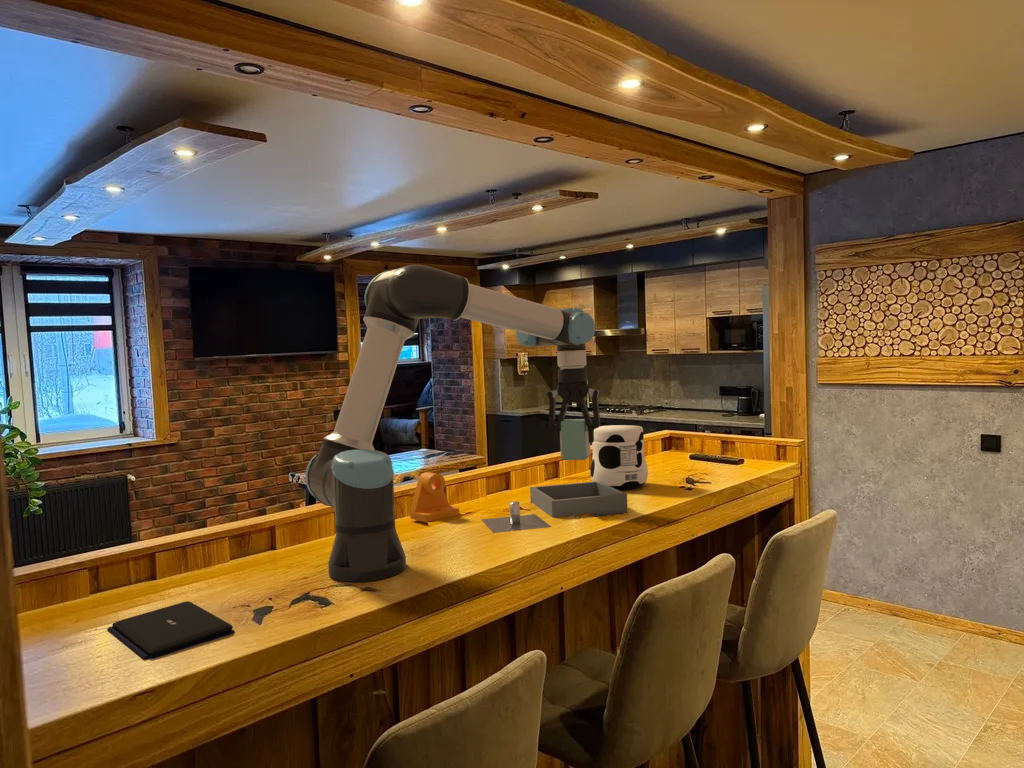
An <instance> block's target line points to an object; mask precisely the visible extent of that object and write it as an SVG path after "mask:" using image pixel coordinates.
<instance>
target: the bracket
mask: <svg viewBox="0 0 1024 768" xmlns="http://www.w3.org/2000/svg"><path fill="white" fill-rule="evenodd" d="M420 474H421V475H419V477H418V480H417V483H416V487H415V491H414V495H413V500H412V502H411V503H412V504H411V507H410V510H409V516H410V517H409V518H410V520H411V519H412V520H416V521H419V522H422V523H428V522H432V521H436V520H440V519H444V518H449V517H454V516H460V507H459V506H454V505H450V503H449V500H448V497H447V495H446V493H445V487H446V479H445V478H444V476H443V475H442V474H440V473H435V472H430V471H425V472H422V473H420Z"/></svg>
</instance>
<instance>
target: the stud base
mask: <svg viewBox="0 0 1024 768" xmlns="http://www.w3.org/2000/svg"><path fill="white" fill-rule="evenodd" d="M508 505H509V516H505V517H504V516H503V517H492V518H491V517H490V518H482V519H480V521H481V522H482V523H484V525H485V526H486V527H487V529H489V530H490V531H491V532H492V533H493V534H495V533H496V534H497V533H506V532H508V533H509V532H515V531H525V530H526V531H527V530H536V529H546V528H552V526H551V525H550V524H549V523H547V522H546V521H545V520H544V519H542V518H541V517H540V516H539V515H537V514H536V513H533V514H524V515H522V514H521V513H520V512H521V511H520V510H521V508H520V501H516V500H515V501H510V502H509V504H508Z"/></svg>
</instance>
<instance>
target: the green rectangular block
mask: <svg viewBox="0 0 1024 768" xmlns="http://www.w3.org/2000/svg"><path fill="white" fill-rule="evenodd" d="M587 429H588V428H587V425H586V422H585V420H584V418H575V419H574V418H573V419H572V418H569V419H567V418H564V420H563V421H561V438H562V456H561V457H562V458H561V459H562V461H586V460H587V459H588V458H590V455H589V456H586V440H585V431H586V430H587Z"/></svg>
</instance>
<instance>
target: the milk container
mask: <svg viewBox="0 0 1024 768" xmlns="http://www.w3.org/2000/svg"><path fill="white" fill-rule="evenodd" d="M644 439H645V437H644V428H643V426H640V425H633V424H632V425H631V424H630V425H629V424H628V425H627V424H616V425H614V424H611V425H602V426H601V425H600V427H598V428H596V429H594V442H593V443H591V446H592V458H591V459H592V460H591V464H590V468H589V471H590V478H591V482H594V481H599V482H602V483H604V484H606V485H608V486H610V487H612V488H615V489H617V490H624V489H632V488H633V489H635V488H638V487H641V486H643V485H644V484H645V483H646V482H647V480H648V475H649V469H648V468H649V467H648V464H647V461H646V457H645V440H644Z"/></svg>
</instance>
